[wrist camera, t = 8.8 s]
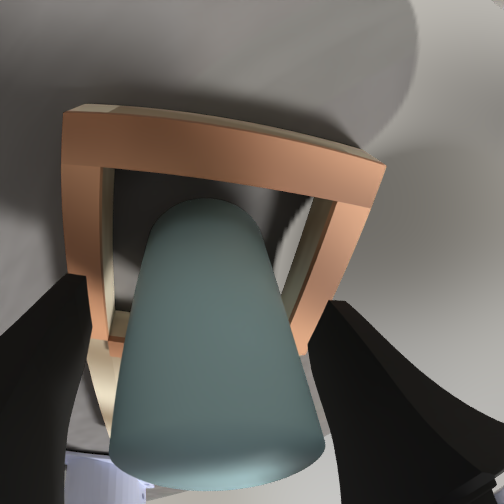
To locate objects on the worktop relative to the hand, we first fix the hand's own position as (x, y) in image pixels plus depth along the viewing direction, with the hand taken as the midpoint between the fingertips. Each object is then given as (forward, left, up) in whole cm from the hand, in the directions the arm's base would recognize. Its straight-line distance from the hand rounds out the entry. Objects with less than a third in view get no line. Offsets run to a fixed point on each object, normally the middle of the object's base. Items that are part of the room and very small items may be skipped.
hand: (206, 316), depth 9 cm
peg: (0, 0, -3) cm, 3 cm away
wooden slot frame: (-5, +1, -3) cm, 6 cm away
